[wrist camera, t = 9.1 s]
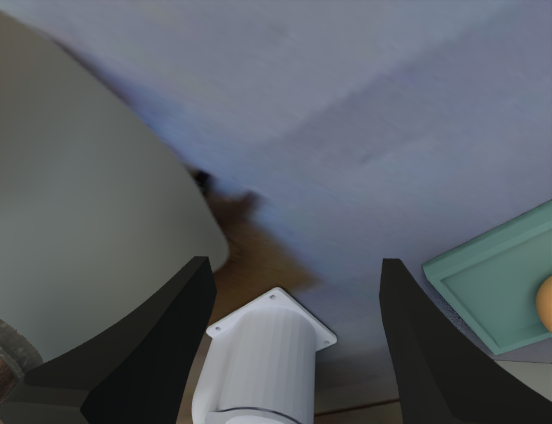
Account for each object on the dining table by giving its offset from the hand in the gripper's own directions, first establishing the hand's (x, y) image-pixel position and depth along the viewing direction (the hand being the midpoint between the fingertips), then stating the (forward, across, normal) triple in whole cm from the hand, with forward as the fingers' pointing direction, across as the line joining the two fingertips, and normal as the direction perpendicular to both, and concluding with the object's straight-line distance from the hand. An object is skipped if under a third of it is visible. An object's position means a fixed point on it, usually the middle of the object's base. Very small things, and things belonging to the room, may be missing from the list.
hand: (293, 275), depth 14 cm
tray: (+9, -15, +8) cm, 20 cm away
